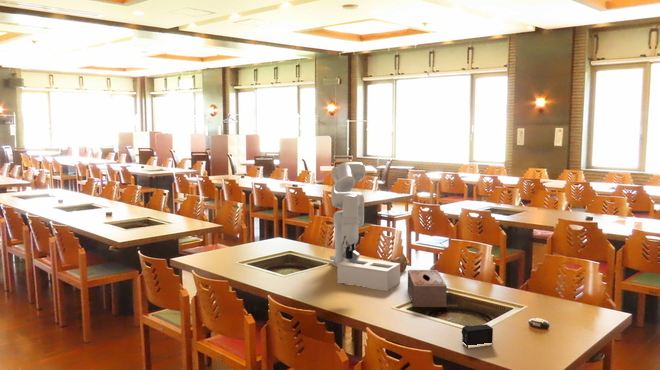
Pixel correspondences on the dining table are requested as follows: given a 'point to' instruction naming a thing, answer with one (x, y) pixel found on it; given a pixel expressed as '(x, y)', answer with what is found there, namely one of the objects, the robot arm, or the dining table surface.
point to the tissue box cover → (427, 288)
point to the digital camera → (477, 334)
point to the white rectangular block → (369, 273)
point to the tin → (402, 263)
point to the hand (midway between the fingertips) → (350, 257)
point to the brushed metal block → (354, 256)
